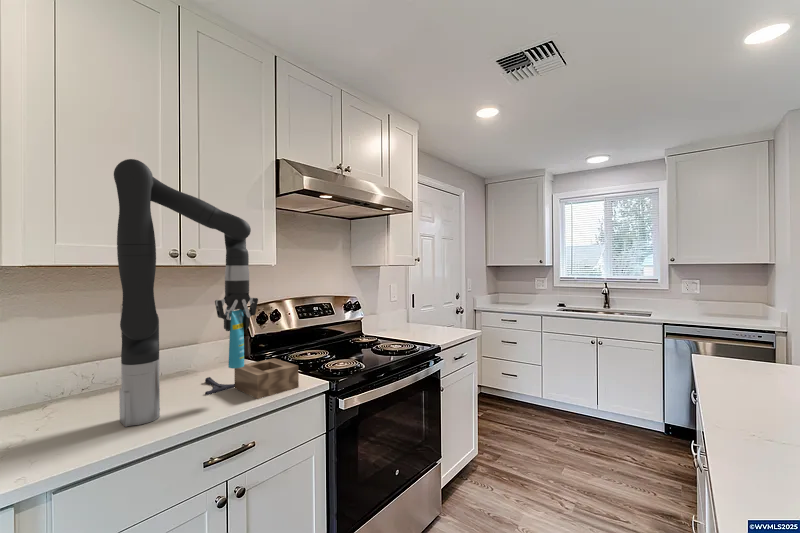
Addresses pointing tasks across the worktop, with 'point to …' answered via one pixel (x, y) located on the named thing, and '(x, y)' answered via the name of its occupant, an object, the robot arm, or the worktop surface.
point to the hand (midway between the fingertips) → (237, 329)
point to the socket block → (266, 377)
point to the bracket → (217, 386)
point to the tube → (236, 340)
